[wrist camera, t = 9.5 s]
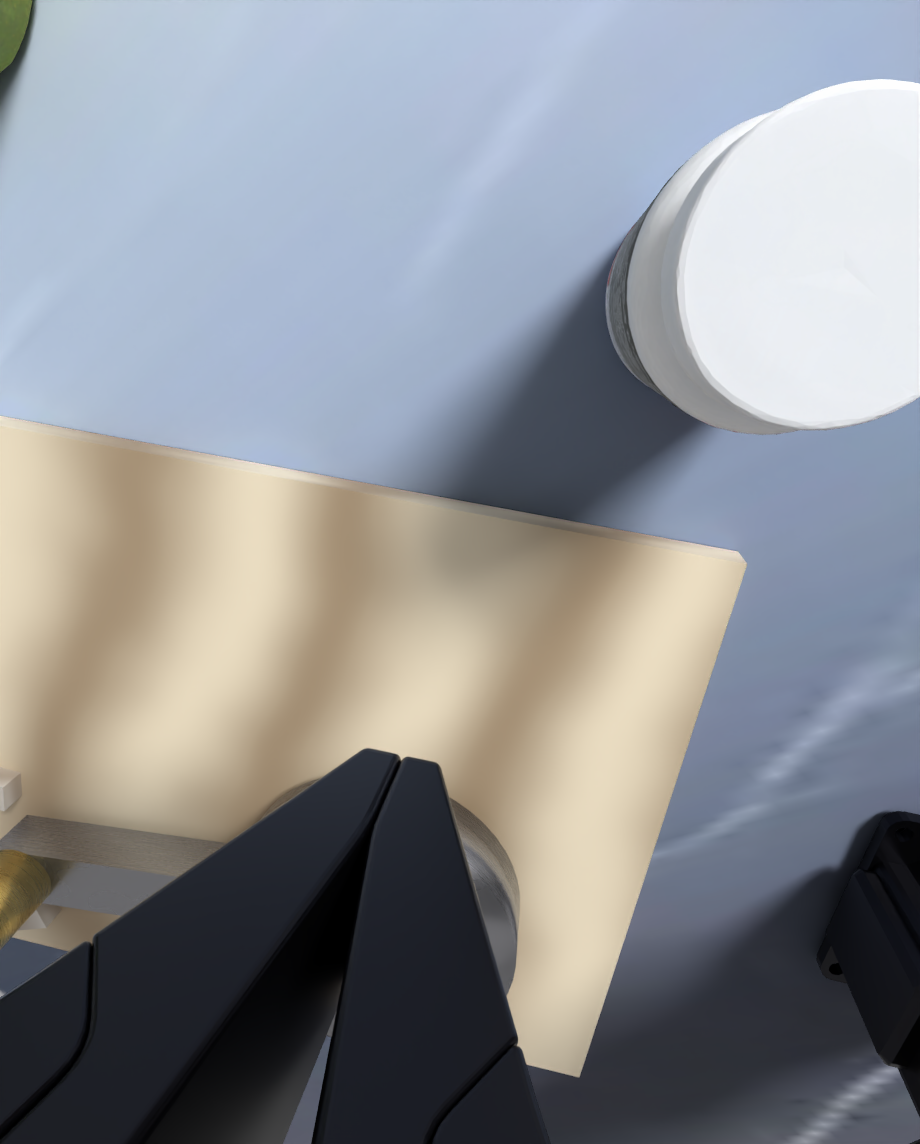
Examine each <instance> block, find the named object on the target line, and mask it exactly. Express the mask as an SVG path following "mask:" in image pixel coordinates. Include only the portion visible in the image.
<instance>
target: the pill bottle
mask: <svg viewBox="0 0 920 1144" xmlns="http://www.w3.org/2000/svg"><path fill="white" fill-rule="evenodd" d="M605 307H606V318H607V325H608V329H609V333H610V337H611V340H612V342H613V345H614V347H615V349H616V351H617V353H618V355H619V357H620V359H621V360H622V362H623V363H624V364H625V366H626V367H627V368H628V369H629V371H630V372H631V373H632V374H633V375H634V376H635V377H636V378H637V379H639V380H640V381H641V382H642V383H644V384H645V385H646V386H648V387H649V388H651V389H652V390H654V391H656V392H657V393H659V394H660V395H661V396H663V397H664V398H666V399H667V400H668V401H670V402H671V403H672V404H673V405H674V406H676V407H678V408H679V409H680V410H682V411H683V412H685V413H687V414H689V415H691V416H692V417H694V418H696V419H698V420H700V421H702V422H704V423H706V424H709V425H710V426H713V427H717V428H721V429H725V430H729V431H733V432H740V433H746V434H759V435H766V434H781V433H788V432H794V431H798V430H831V429H838V428H844V427H849V426H854V425H858V424H862V423H865V422H869V421H872V420H875V419H878V418H880V417H882V416H885V415H887V414H890V413H892V412H894V411H896V410H898V409H900V408H902V407H903V406H905V405H907V404H909V403H911V402H913V401H914V400H916V399H917V398H919V397H920V84H918V83H913V82H905V81H896V80H883V79H879V80H865V81H852V82H847V83H843V84H839V85H834V86H830V87H827V88H824V89H821V90H818V91H815V92H813V93H811V94H808V95H806V96H804V97H802V98H799V99H797V100H795V101H793V102H790V103H788V104H787V105H785V106H783V107H782V108H780V109H779V110H775V111H772V112H769V113H766V114H763V115H760V116H757V117H754V118H752V119H749V120H747V121H745V122H743V123H741V124H738V125H737V126H735V127H733V128H731V129H729V130H728V131H726V132H724V133H723V134H721V135H720V136H718V137H717V138H715V139H714V140H712V141H711V142H710V143H708V144H707V145H705V146H704V147H703V148H702V149H700V150H699V151H698V152H697V153H696V154H694V155H693V156H692V157H691V158H690V159H689V160H688V161H687V162H686V163H685V164H683V165H682V166H681V167H680V168H679V169H678V170H677V171H676V172H675V173H674V175H673V176H672V177H671V178H670V179H669V180H668V182H667V183H666V184H665V185H664V187H663V188H662V189H661V191H660V192H659V193H658V195H657V196H656V198H655V199H654V200H653V202H652V203H651V204H650V206H649V207H648V208H647V210H646V211H645V212H644V214H643V215H642V216H641V217H640V218H639V220H638V221H637V222H636V223H635V224H634V226H633V227H632V228H631V230H630V231H629V233H628V234H627V236H626V238H625V239H624V241H623V243H622V244H621V246H620V248H619V250H618V252H617V254H616V257H615V259H614V261H613V264H612V267H611V270H610V273H609V277H608V282H607V288H606V305H605Z"/></svg>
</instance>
